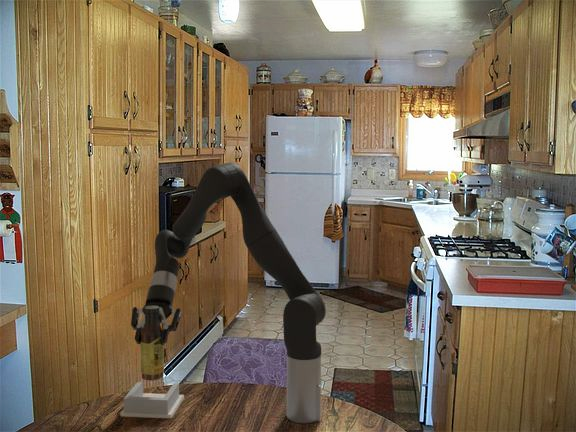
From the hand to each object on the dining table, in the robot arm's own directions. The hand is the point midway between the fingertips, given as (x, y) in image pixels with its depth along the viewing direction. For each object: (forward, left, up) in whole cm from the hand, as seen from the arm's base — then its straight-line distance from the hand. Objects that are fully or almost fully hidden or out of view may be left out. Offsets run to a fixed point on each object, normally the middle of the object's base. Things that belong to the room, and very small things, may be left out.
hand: (150, 343), depth 160 cm
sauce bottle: (0, -2, -10) cm, 11 cm away
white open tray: (0, -2, -19) cm, 19 cm away
